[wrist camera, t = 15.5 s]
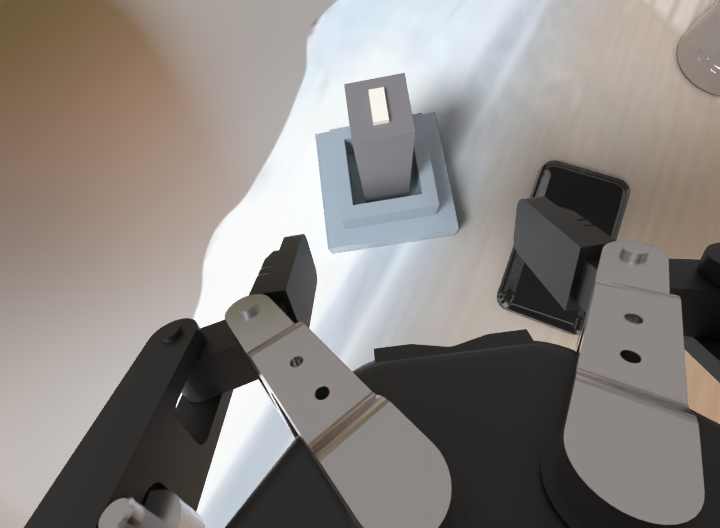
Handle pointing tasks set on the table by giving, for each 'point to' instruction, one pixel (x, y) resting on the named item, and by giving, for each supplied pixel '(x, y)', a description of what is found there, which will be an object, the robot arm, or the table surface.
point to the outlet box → (393, 216)
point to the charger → (382, 135)
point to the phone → (591, 201)
